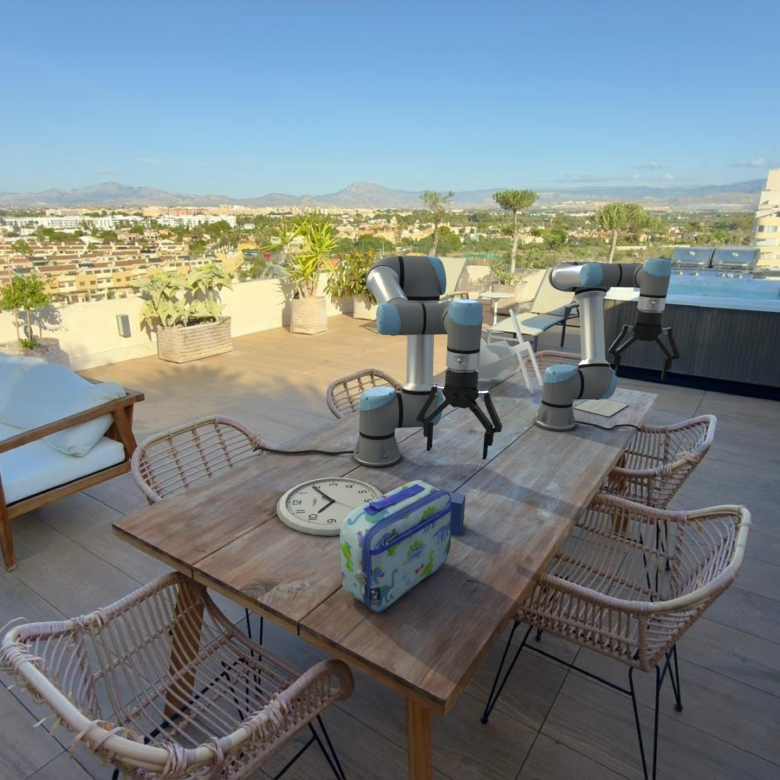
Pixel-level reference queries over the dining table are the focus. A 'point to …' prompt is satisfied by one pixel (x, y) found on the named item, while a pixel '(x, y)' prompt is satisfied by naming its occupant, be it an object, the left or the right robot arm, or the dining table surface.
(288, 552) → the dining table surface
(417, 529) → the lunch box
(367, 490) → the wall clock
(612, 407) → the invitation card
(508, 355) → the white plastic object
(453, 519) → the block
